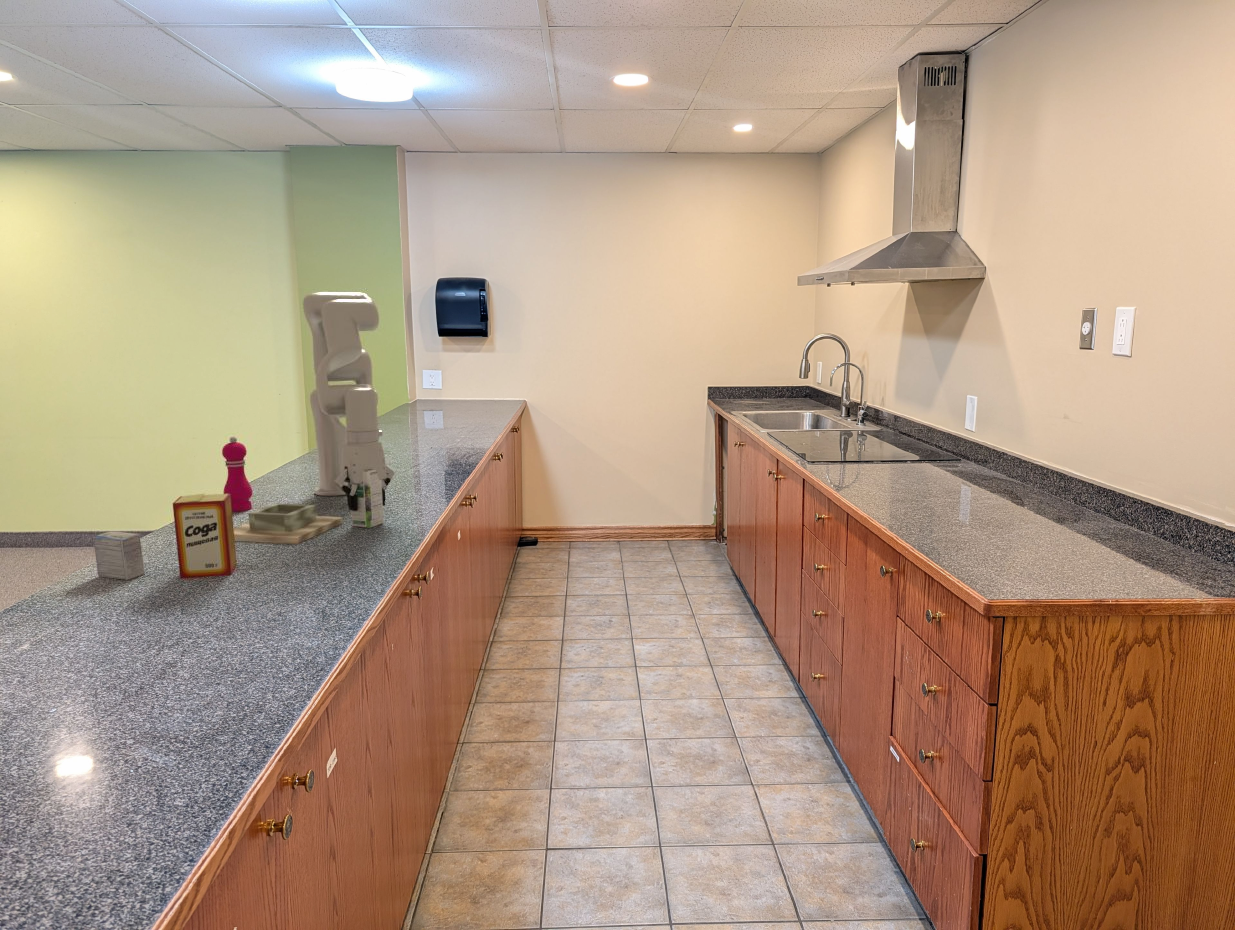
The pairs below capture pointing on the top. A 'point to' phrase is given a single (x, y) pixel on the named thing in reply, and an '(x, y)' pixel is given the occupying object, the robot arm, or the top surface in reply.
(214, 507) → the baking soda box
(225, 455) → the pepper mill
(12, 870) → the top surface
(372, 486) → the syrup box
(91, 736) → the top surface
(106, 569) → the medicine box
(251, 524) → the socket board
